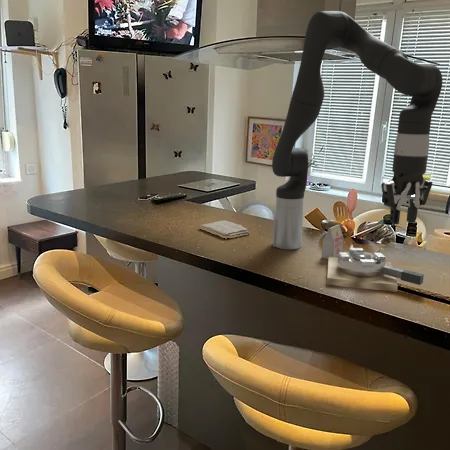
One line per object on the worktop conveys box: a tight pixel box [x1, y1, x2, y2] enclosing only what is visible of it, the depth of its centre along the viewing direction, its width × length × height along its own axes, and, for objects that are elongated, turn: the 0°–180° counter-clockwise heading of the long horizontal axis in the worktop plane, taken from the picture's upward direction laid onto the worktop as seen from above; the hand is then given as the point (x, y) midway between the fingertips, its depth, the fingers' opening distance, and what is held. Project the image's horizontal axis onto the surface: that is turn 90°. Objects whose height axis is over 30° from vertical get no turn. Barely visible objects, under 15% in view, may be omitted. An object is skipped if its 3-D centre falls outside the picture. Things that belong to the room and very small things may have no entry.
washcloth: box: [199, 219, 250, 236], centre depth 172 cm, size 12×18×3 cm, turn 38°
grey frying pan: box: [337, 247, 425, 286], centre depth 125 cm, size 24×13×4 cm, turn 46°
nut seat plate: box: [326, 257, 399, 293], centre depth 130 cm, size 18×18×2 cm
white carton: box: [321, 224, 344, 260], centre depth 146 cm, size 4×7×10 cm, turn 139°
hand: (402, 222), depth 112 cm, fingers open, 4 cm apart
